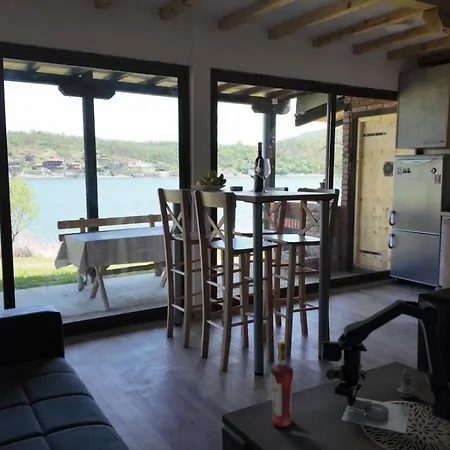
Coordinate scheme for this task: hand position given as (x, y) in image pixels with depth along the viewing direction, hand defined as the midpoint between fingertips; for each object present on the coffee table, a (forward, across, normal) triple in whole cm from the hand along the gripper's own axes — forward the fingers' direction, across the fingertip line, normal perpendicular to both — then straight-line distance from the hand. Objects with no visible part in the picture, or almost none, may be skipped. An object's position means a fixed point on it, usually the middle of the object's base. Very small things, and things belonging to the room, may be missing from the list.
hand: (350, 406), depth 165 cm
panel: (+2, -2, +8) cm, 9 cm away
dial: (+1, -2, +5) cm, 6 cm away
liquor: (+4, +18, -18) cm, 25 cm away
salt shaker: (+2, -20, +14) cm, 25 cm away
